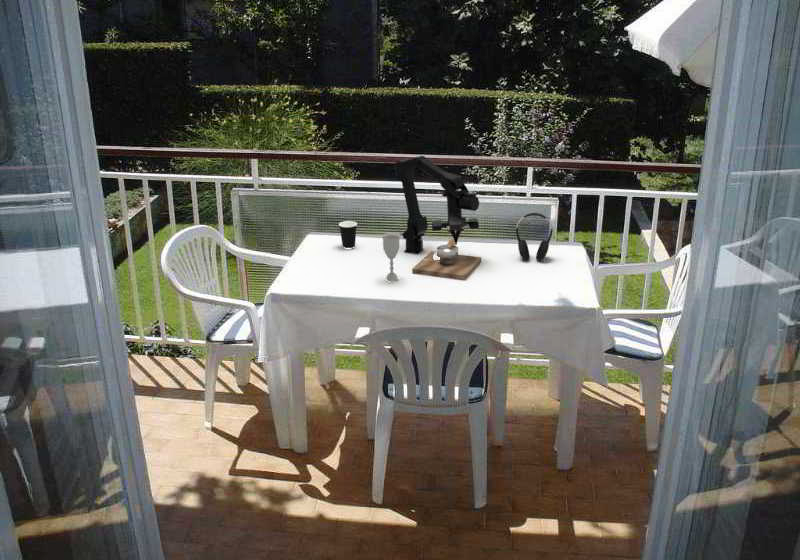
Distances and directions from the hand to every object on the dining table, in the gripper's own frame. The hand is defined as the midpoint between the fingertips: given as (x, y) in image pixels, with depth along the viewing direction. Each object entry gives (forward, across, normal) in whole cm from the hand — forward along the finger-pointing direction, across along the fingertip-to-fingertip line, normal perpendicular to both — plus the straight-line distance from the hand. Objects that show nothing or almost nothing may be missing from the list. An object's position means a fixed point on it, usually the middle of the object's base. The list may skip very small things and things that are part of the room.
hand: (456, 244), depth 316 cm
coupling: (+2, -3, -4) cm, 5 cm away
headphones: (+9, +31, +2) cm, 33 cm away
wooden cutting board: (+7, -4, -7) cm, 11 cm away
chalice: (+6, -26, -21) cm, 34 cm away
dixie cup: (+5, -46, +16) cm, 49 cm away
